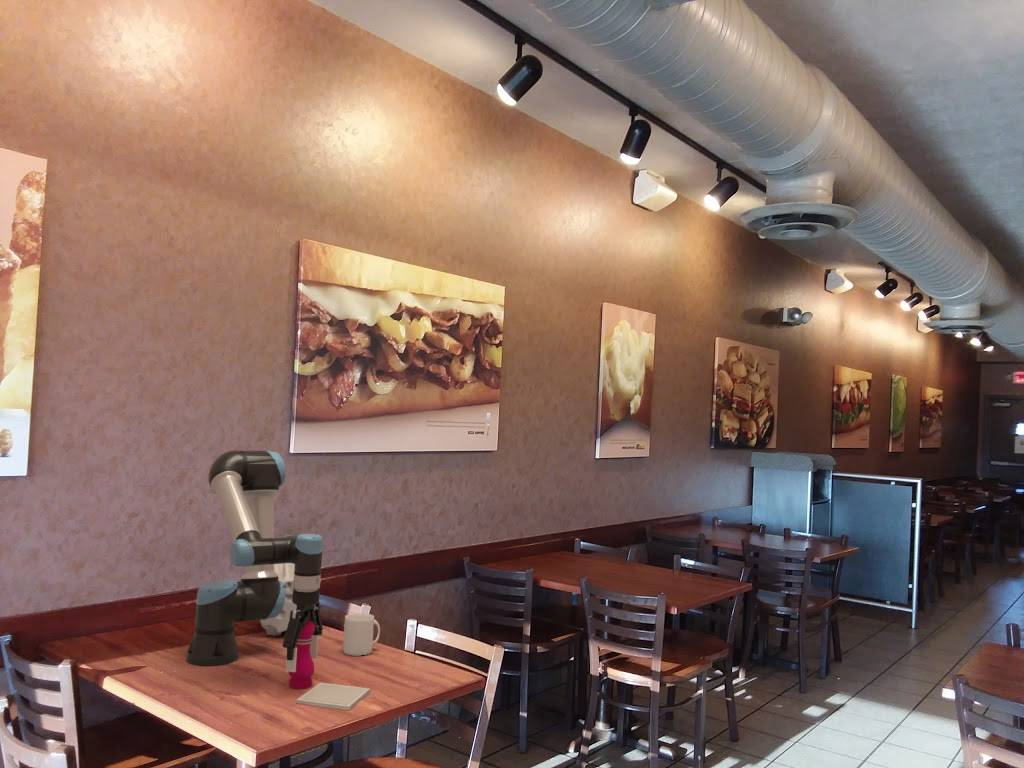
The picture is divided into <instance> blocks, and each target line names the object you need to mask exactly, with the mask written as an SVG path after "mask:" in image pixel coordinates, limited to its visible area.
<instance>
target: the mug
mask: <svg viewBox="0 0 1024 768" xmlns="http://www.w3.org/2000/svg"><path fill="white" fill-rule="evenodd" d="M374 625H375V626H376V628H377V634H376V635H377V636H376V638H375V640H374ZM343 627H344V628H343V644H342V645H343V646H342V650H343V651H342V652H343V653H344V654H345V655H346V654H347V655H346V656H349V655H352V656H351V657H362V656H361V655H365V656H368V655H370V654H371V653H372V652H373V645H375V644H376V643H377V642H378V641H379V638H380V635H381V627H380V624H379V622H378V621H377V620H376V619H375V615H373V614H371V613H364V612H353V613H352V612H351V613H349V614H348V613H347V614H346V615H345V616H344V626H343ZM367 654H368V655H367Z"/></svg>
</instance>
